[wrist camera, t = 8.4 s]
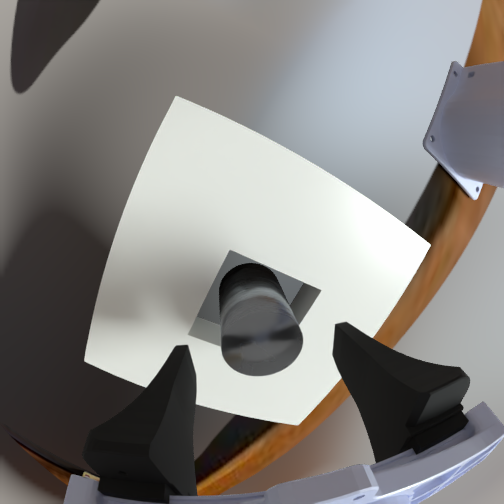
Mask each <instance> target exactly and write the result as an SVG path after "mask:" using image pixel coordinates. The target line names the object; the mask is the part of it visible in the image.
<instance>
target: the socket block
mask: <svg viewBox="0 0 504 504" xmlns="http://www.w3.org/2000/svg"><path fill="white" fill-rule="evenodd" d="M430 246H431V245H430V244H429V243H428V242H426V241H425V240H424V239H423V238H421V237H420V236H419V235H418V234H416V233H415V232H414V231H412V230H411V229H410V228H408V227H407V226H406V225H404V224H403V223H402V222H400V221H399V220H398V219H396V218H395V217H393V216H392V215H391V214H389V213H388V212H387V211H385V210H384V209H382V208H381V207H380V206H378V205H377V204H375V203H374V202H372V201H371V200H369V199H368V198H367V197H365V196H364V195H362V194H361V193H359V192H357V191H356V190H354V189H353V188H352V187H350V186H348V185H347V184H345V183H344V182H342V181H341V180H339V179H337V178H336V177H334V176H333V175H331V174H329V173H328V172H326V171H325V170H323V169H321V168H320V167H318V166H316V165H315V164H313V163H311V162H309V161H308V160H306V159H304V158H303V157H301V156H299V155H297V154H296V153H294V152H292V151H290V150H288V149H287V148H285V147H283V146H281V145H279V144H278V143H276V142H274V141H272V140H270V139H268V138H266V137H264V136H262V135H260V134H259V133H257V132H254V131H253V130H250V129H249V128H247V127H245V126H243V125H241V124H239V123H236V122H234V121H232V120H230V119H228V118H226V117H224V116H221V115H219V114H217V113H215V112H213V111H211V110H208V109H206V108H204V107H202V106H199V105H197V104H194V103H192V102H190V101H187V100H185V99H183V98H180V97H178V96H176V97H175V99H174V101H173V102H172V105H171V106H170V108H169V110H168V112H167V114H166V116H165V118H164V120H163V122H162V124H161V126H160V128H159V129H158V132H157V134H156V136H155V138H154V140H153V142H152V144H151V146H150V148H149V151H148V153H147V155H146V157H145V160H144V162H143V164H142V166H141V169H140V171H139V173H138V176H137V178H136V181H135V183H134V186H133V188H132V190H131V193H130V195H129V198H128V201H127V203H126V206H125V209H124V211H123V214H122V217H121V220H120V222H119V225H118V228H117V231H116V234H115V237H114V240H113V244H112V246H111V250H110V253H109V256H108V259H107V263H106V266H105V270H104V273H103V277H102V280H101V284H100V288H99V292H98V296H97V300H96V304H95V308H94V313H93V317H92V322H91V327H90V331H89V337H88V342H87V347H86V353H85V359H84V361H85V362H87V363H90V364H91V365H94V366H96V367H98V368H100V369H102V370H104V371H107V372H109V373H111V374H114V375H116V376H118V377H121V378H123V379H126V380H128V381H131V382H133V383H136V384H138V385H141V386H144V387H147V386H148V385H149V384H150V382H151V381H152V380H153V378H154V377H155V376H156V375H157V373H158V372H159V370H160V369H161V367H162V366H163V364H164V363H165V361H166V360H167V358H168V357H169V355H170V353H171V352H172V350H173V348H174V347H175V346H176V345H188V346H189V350H190V354H191V357H192V361H193V364H194V368H195V371H196V377H197V396H196V404H198V405H202V406H206V407H209V408H213V409H217V410H221V411H225V412H229V413H233V414H238V415H242V416H247V417H252V418H257V419H262V420H268V421H273V422H279V423H286V424H292V425H299V424H300V423H301V422H302V421H303V420H304V419H305V418H306V417H307V415H308V414H309V413H310V412H311V411H312V410H313V409H314V408H315V407H316V406H317V405H318V404H319V403H320V402H321V401H322V399H323V398H324V397H325V396H326V395H327V394H328V393H329V392H330V390H331V389H332V388H333V387H334V386H335V385H336V383H337V382H338V381H339V380H340V379H341V378H342V377H341V375H340V373H339V371H338V369H337V366H336V364H335V361H334V358H333V356H332V351H333V341H334V330H335V324H337V323H341V322H348V323H349V324H351V325H353V326H354V327H356V328H357V329H359V330H360V331H362V332H363V333H365V334H366V335H368V336H370V337H371V338H373V337H374V335H375V334H376V332H377V331H378V330H379V328H380V327H381V325H382V324H383V323H384V321H385V320H386V318H387V317H388V315H389V314H390V312H391V311H392V309H393V308H394V306H395V305H396V303H397V302H398V300H399V299H400V297H401V295H402V294H403V292H404V291H405V289H406V287H407V286H408V284H409V283H410V281H411V279H412V278H413V276H414V274H415V272H416V271H417V269H418V267H419V266H420V264H421V262H422V260H423V258H424V257H425V255H426V253H427V251H428V249H429V247H430ZM229 250H232V251H234V252H236V253H239V254H241V255H243V256H245V257H248V258H250V259H252V260H254V261H257V262H259V263H262V264H263V265H266V266H268V267H270V268H273V269H275V270H277V271H279V272H282V273H284V274H286V275H288V276H291V277H293V278H295V279H297V280H300V281H302V282H304V284H303V285H302V287H301V289H300V290H299V292H298V294H297V295H296V297H295V298H294V300H293V302H292V303H291V305H290V307H291V310H292V312H293V314H294V316H295V318H296V320H297V322H298V325H299V327H300V329H301V331H302V334H303V346H302V350H301V352H300V354H299V356H298V357H297V358H296V360H295V361H294V362H293V363H292V364H291V365H289V366H288V367H287V368H285V369H284V370H282V371H280V372H277V373H275V374H271V375H267V376H248V375H244V374H241V373H239V372H237V371H235V370H233V369H232V368H231V367H230V366H229V365H228V364H227V363H226V362H225V360H224V358H223V356H222V352H221V332H220V325H219V324H216V323H214V322H211V321H208V320H205V319H203V318H200V317H198V316H197V314H198V312H199V310H200V308H201V306H202V304H203V302H204V300H205V298H206V296H207V294H208V292H209V290H210V288H211V286H212V284H213V282H214V280H215V278H216V276H217V274H218V272H219V270H220V268H221V266H222V264H223V262H224V260H225V258H226V256H227V254H228V252H229Z"/></svg>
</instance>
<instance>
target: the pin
mask: <svg viewBox="0 0 504 504" xmlns="http://www.w3.org/2000/svg"><path fill="white" fill-rule="evenodd" d="M219 302H220V332H221V352H222V356H223V358H224V360H225V362H226V363H227V364H228V365H229V366H230V367H231V368H232V369H233V370H235V371H237V372H239V373H241V374H244V375H248V376H267V375H271V374H275V373H277V372H280V371H282V370H284V369H285V368H287V367H288V366H289V365H291V364H292V363H293V362H294V361H295V360H296V358H297V357H298V356H299V354H300V352H301V350H302V346H303V334H302V331H301V329H300V327H299V325H298V322H297V320H296V318H295V316H294V314H293V312H292V310H291V307H290V305H289V303H288V301H287V299H286V297H285V295H284V292H283V290H282V288H281V286H280V284H279V282H278V280H277V278H276V276H275V274H274V273H273V272H272V271H271V270H270V269H268V268H267V267H265V266H263V265H260V264H256V263H246V264H242V265H238V266H236V267H234V268H233V269H231V270H230V271H229V272H228V273H227V274H226V275H225V276H224V278H223V279H222V281H221V284H220V287H219Z"/></svg>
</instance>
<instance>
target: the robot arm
mask: <svg viewBox="0 0 504 504" xmlns="http://www.w3.org/2000/svg"><path fill="white" fill-rule="evenodd" d="M430 137H431V138H432V141H431V140H430ZM423 147H424V149H425V150H426V151H427V152H428V153H429V154H430V155H431V156H432V157H433V158H434V159H435V160H436V161H437V162H438V163H439V164H440V165H441V166H442V167H443V168H444V169H445V170H446V171H447V172H448V173H449V174H450V175H451V176H452V177H453V178H454V179H455V181H456V182H457V183H458V184H459V185H460V186H461V187H462V188H463V190H464V191H465V192H466V193H467V194H468V195H469V197H470V198H471V199H473V200H476V199H477V198H478V195H479V193H480V190H481V188H482V185H483V183H485V184H489V185H493V186H497V187H501V188H504V61H503V62H495V63H488V64H482V65H476V66H470V67H465V68H463V67H462V66H461V65H460V64H459V63H458V62H457V61H454V62H452V63H451V66H450V70H449V72H448V76H447V79H446V82H445V85H444V88H443V90H442V93H441V96H440V99H439V102H438V104H437V108H436V110H435V112H434V115H433V118H432V120H431V123H430V125H429V128H428V130H427V133H426V135H425V138H424V140H423ZM332 356H333V358H334V361H335V364H336V366H337V369H338V371H339V373H340V375H341V377H342V379H343V381H344V382H345V384H346V386H347V388H348V390H349V392H350V393H351V395H352V397H353V399H354V401H355V402H356V404H357V407H358V409H359V411H360V413H361V417H362V419H363V422H364V425H365V427H366V430H367V433H368V436H369V439H370V443H371V446H372V449H373V453H374V457H375V461H376V464H373V465H370V466H369V465H363V464H358V465H354V466H349V467H346V468H343V469H339V470H336V471H332V472H328V473H325V474H321V475H317V476H312V477H308V478H303V479H299V480H294V481H289V482H286V483H282V484H278V485H276V486H274V487H271V488H269V489H268V490H267V491H264V492H256V493H247V494H236V495H220V496H198V495H197V488H196V479H195V468H194V455H193V454H194V453H193V424H194V415H195V406H196V396H197V377H196V371H195V368H194V364H193V361H192V357H191V354H190V350H189V346H188V345H176V346H175V347H174V348H173V350H172V352H171V353H170V355H169V357H168V358H167V360H166V361H165V363H164V364H163V366H162V367H161V369H160V370H159V372H158V373H157V375H156V376H155V377H154V378H153V380H152V381H151V382H150V384H149V385H148V386H147V387H146V389H145V390H144V391H143V392H142V393H141V394H140V395H139V396H138V397H137V398H136V399H135V400H134V401H133V402H132V403H131V404H129V405H128V406H127V407H126V408H125V409H124V410H122V411H121V412H120V413H118V414H117V415H115V416H114V417H112V418H111V419H110V420H108V421H106V422H105V423H103V424H101V425H99V426H97V427H96V428H94V429H92V430H90V432H89V434H88V437H87V440H86V443H85V446H84V450H83V453H82V456H83V459H84V460H85V461H86V462H87V464H88V465H89V466H90V467H91V468H92V469H93V470H94V471H96V473H97V474H99V475H100V480H99V482H98V481H96V480H94V479H91V478H86V477H82V476H78V475H74V474H72V475H71V477H70V481H69V484H68V488H67V492H66V496H65V501H64V504H418V503H420V502H421V501H423V500H425V499H427V498H428V497H430V496H432V495H433V494H435V493H437V492H438V491H440V490H441V489H443V488H444V487H446V486H447V485H449V484H450V483H452V482H453V481H455V480H456V479H458V478H459V477H461V476H462V475H463V474H465V473H466V472H468V471H469V470H470V469H472V468H473V467H474V466H476V465H477V464H478V463H480V462H481V461H482V460H484V459H485V458H486V457H487V455H489V454H490V452H491V451H492V450H493V449H494V448H495V447H496V446H497V445H498V443H499V442H500V441H501V440H502V439H503V437H504V426H503V424H502V423H501V422H500V420H499V419H498V418H497V417H496V415H495V414H494V413H493V412H492V410H491V409H490V408H489V407H488V406H487V405H486V403H485V402H481V403H480V404H478V405H477V406H475V407H474V408H472V409H471V410H469V411H468V412H467V413H466V414H465V415H464V414H463V412H462V410H463V406H462V405H461V401H462V399H463V397H464V395H465V394H466V392H467V390H468V388H469V384H470V378H469V377H468V376H467V374H466V373H465V372H464V371H463V370H462V369H461V368H460V367H452V366H444V365H438V364H433V363H429V362H425V361H421V360H418V359H414V358H412V357H409V356H406V355H404V354H402V353H399V352H397V351H395V350H393V349H391V348H389V347H387V346H385V345H383V344H381V343H380V342H378V341H376V340H374V339H373V338H371V337H370V336H368V335H366V334H365V333H363V332H362V331H360V330H359V329H357V328H356V327H354V326H353V325H351V324H349V323H348V322H341V323H337V324H335V330H334V341H333V351H332Z"/></svg>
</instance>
